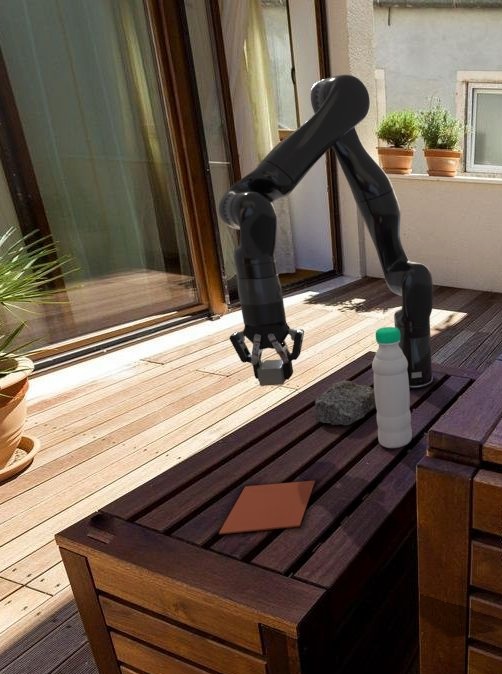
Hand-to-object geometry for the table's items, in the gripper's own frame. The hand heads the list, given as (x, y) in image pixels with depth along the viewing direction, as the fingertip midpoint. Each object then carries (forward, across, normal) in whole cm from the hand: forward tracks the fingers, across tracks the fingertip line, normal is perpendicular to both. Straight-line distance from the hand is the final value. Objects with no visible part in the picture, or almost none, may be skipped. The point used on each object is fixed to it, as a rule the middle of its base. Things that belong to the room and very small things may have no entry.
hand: (274, 378), depth 97 cm
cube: (0, 0, 0) cm, 0 cm away
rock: (+14, -12, -9) cm, 21 cm away
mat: (+14, -4, +24) cm, 28 cm away
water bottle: (+14, -24, +5) cm, 28 cm away
